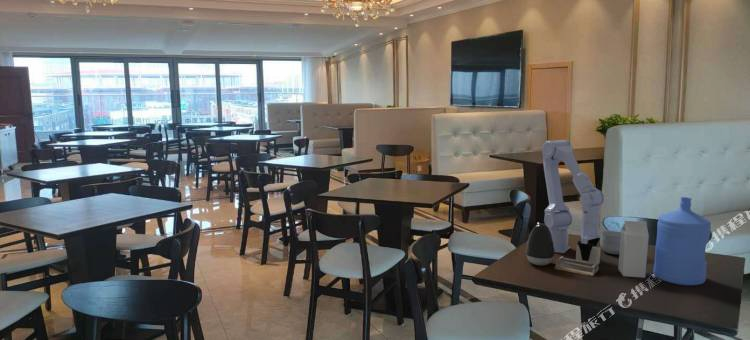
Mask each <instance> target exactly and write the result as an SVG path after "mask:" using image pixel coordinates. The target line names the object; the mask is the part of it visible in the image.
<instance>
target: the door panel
mask: <svg viewBox="0 0 750 340" xmlns="http://www.w3.org/2000/svg"><path fill="white" fill-rule="evenodd" d="M601 250H602V248H601V246H596V247H594V246H593V247H592V249H591V253H590V257H589V260H588V261H584V260H582V257H581V251H580V248H579V246H578V244H576V253H575V260H579V261H584V262H590V263H598V265H599V264H600V262H601V261H600V260H601Z"/></svg>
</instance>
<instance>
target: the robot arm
mask: <svg viewBox="0 0 750 340" xmlns="http://www.w3.org/2000/svg"><path fill="white" fill-rule="evenodd" d="M541 152H542V153H541V154H542V159H543V160H542V165H543V172H544V178H545V184H546V190H547V191H546V192H547V198H548V204H549V205H548V206H547V207H546V208H545V209H544V219H543V221H544V224H545V225H546V226H548V228H549V230H550V232H551V235H552V238H553V243H554V250H555V253H559V254H565V253H566V252H568V250H569V249H571V246H569V235H570V234H569V227H570V226H571V225H572V223H573V215H572V214H571V212H570V207H569V206H567V205H566V204H565V203H564V197H563V190H562V184H561V179H560V178H561V177H560V172H559V164H560V162H561V161H562V162H563V163H564V164H565V167H566V168H567V169H568V171H569V172H570V174H571V175H572V182H573V185H574V186H575V188H576V190H577V192H578V194H579V195H580V196H579V202H580V203H579V204H580V205H581V210H582V214H581V215H582V216H581V229H580V230H581V231H580V232H581V233H580V237H581V240H578V241H577V245H578V246H579V248H580V251H581V257H582V260H584V261H588V260H589V257H590V253H591V249H592V247H593V246H594V247H598V246H597V245H598V243H599V242H600V238H601V234H599V222H600V221H599V219H600V208H601V207H600V206H601V205H603V204H604V200H605V197H604V194H603V192H602V191H601V190H600V189H598V188H596V187H595V186H594V184H593V182H592V181H591V179H590V175H588V174H587V173H586V172H583V171H582V169H581V167H580V166H579V164H578V161H577V159H576V157H575V155H574V153H573V152H574V147H573V145H572V143H571V142H570V140H568V139H559V140H546V141H545V142H544V143H543V145H542V147H541Z"/></svg>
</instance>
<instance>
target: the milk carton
mask: <svg viewBox="0 0 750 340" xmlns="http://www.w3.org/2000/svg"><path fill="white" fill-rule="evenodd" d="M647 224H648V222H647V221H641V220H640V221H636V220H624V224H623V226H622V227H621V230H620V232H621V241H620V254H619V255H618V266H617V268H618V271H619V272H620V274H621V275H622V276H623V277H629V278H631V277H632V278H645V279H646V274H647V273H646V271H647V262H648V261H647V260H648V248H649V238H650V237H649V231H648V227H647V226H648V225H647Z"/></svg>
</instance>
